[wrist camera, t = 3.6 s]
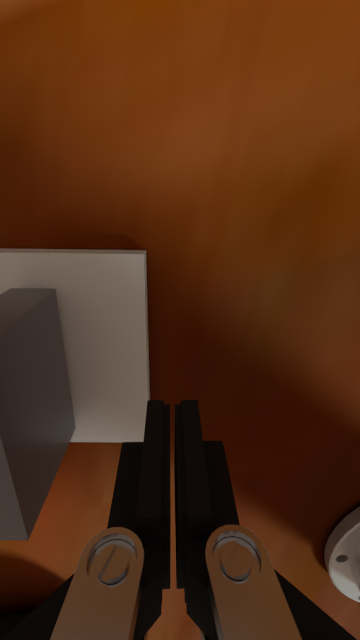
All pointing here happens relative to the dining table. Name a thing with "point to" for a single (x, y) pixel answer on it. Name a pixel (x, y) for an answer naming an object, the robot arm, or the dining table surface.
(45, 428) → the grey t-shaped bar
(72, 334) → the press frame
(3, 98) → the dining table surface
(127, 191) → the dining table surface
